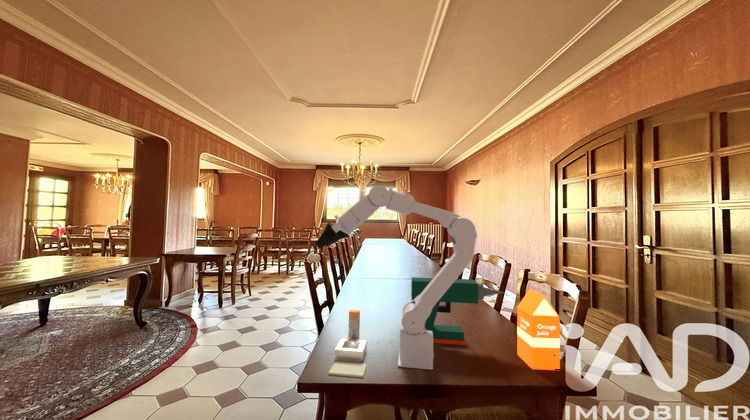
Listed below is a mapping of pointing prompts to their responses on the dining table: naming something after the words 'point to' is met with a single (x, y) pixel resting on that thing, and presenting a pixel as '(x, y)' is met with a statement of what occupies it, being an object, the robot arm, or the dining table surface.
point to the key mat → (348, 369)
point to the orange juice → (538, 332)
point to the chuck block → (350, 350)
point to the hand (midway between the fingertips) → (321, 244)
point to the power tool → (456, 293)
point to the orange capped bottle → (354, 324)
